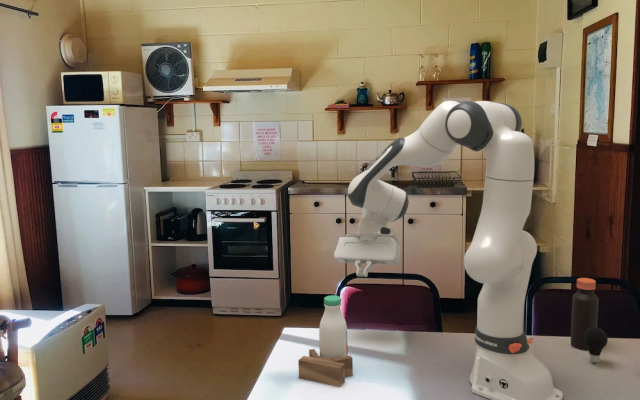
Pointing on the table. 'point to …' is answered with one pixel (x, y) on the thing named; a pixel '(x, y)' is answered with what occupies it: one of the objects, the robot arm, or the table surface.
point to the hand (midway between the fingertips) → (361, 275)
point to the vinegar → (583, 311)
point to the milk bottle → (333, 330)
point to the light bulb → (595, 342)
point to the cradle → (325, 368)
